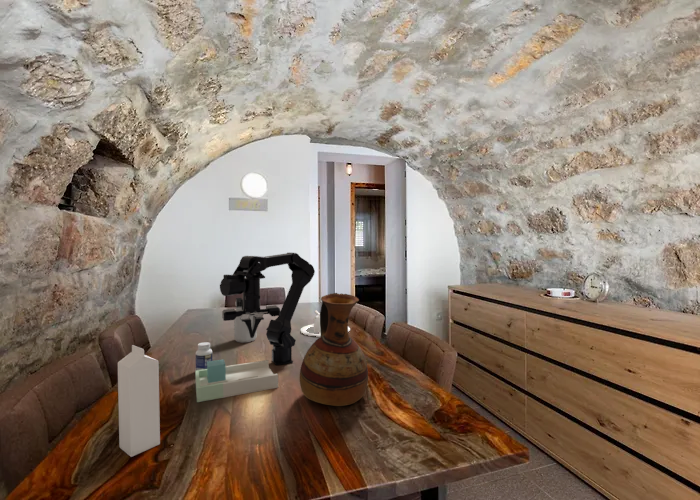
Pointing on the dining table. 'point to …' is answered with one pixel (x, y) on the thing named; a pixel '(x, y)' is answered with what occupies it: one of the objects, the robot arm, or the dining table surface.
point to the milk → (138, 402)
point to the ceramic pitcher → (334, 357)
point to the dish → (315, 325)
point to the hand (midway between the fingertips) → (252, 337)
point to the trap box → (236, 381)
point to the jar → (242, 329)
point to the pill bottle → (203, 355)
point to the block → (216, 371)
